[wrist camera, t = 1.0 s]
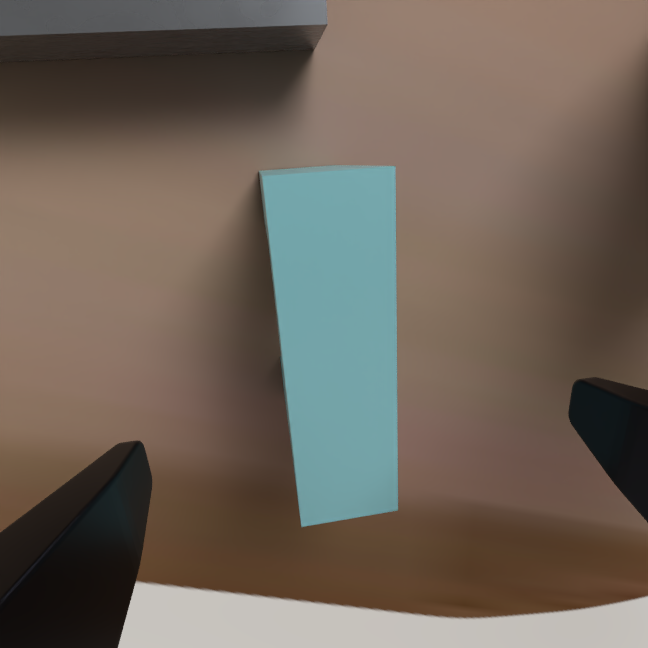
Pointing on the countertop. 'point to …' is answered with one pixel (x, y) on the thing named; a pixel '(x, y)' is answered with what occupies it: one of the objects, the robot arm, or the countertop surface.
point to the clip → (337, 333)
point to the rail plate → (155, 27)
